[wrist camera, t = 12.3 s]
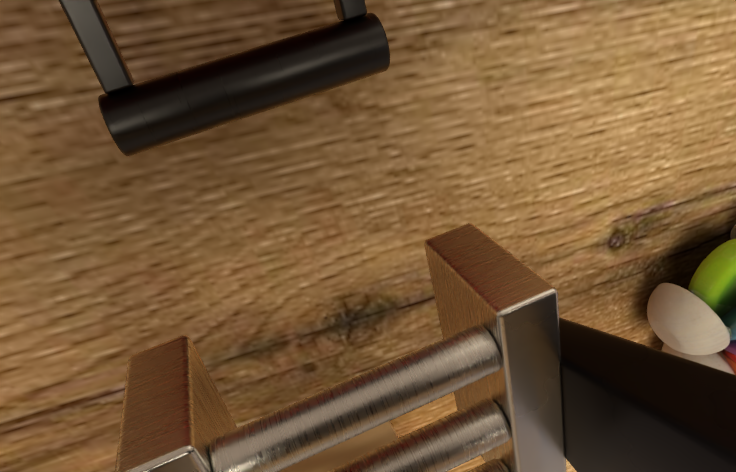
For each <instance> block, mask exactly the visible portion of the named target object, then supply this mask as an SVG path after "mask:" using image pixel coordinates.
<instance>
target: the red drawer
mask: <svg viewBox="0 0 736 472" xmlns="http://www.w3.org/2000/svg"><path fill="white" fill-rule="evenodd" d="M59 2H60V4H61V6H62V8H63V10H64V12H65V14H66V16H67V18H68V20H69V22H70V24H71V26H72V28H73V30H74V32H75V34H76V36H77V38H78V40H79V42H80V44H81V46H82V48H83V50H84V52H85V54H86V56H87V58H88V60H89V62H90V64H91V66H92V68H93V70H94V72H95V74H96V76H97V78H98V80H99V82H100V84H101V86H102V88H103V90H104V92H105V93H106V94H103V95H100V96H99V97H98V101H99V107H100V110H101V113H102V116H103V119H104V121H105V123H106V126H107V128H108V130H109V132H110V134H111V136H112V138H113V140H114V141H115V143H116V145H117V146H118V148H119V149H120V150H121V152H122V153H123V154H124V155H126V156H131V155H134V154H137V153H140V152H143V151H146V150H149V149H152V148H155V147H158V146H161V145H164V144H167V143H170V142H173V141H176V140H179V139H182V138H185V137H188V136H191V135H194V134H197V133H200V132H203V131H206V130H209V129H212V128H215V127H218V126H221V125H224V124H227V123H230V122H233V121H236V120H239V119H242V118H245V117H248V116H251V115H254V114H257V113H260V112H263V111H266V110H269V109H272V108H275V107H278V106H281V105H284V104H287V103H290V102H293V101H297V100H300V99H303V98H306V97H309V96H312V95H315V94H318V93H321V92H324V91H327V90H330V89H333V88H336V87H339V86H342V85H345V84H348V83H351V82H354V81H357V80H360V79H363V78H366V77H369V76H372V75H375V74H378V73H381V72H384V71H386V70H387V69H388V68H389V64H390V51H389V45H388V41H387V37H386V34H385V31H384V29H383V26H382V24H381V22H380V20H379V19H378V17H377V16H376V15H375V14H374V13H367V9H366V5H365V0H334V4H335V8H336V12H337V16H338V19H339V20H344V21H341V22H337V23H334V24H331V25H327V26H324V27H321V28H318V29H314V30H311V31H308V32H305V33H301V34H298V35H295V36H292V37H288V38H285V39H282V40H279V41H275V42H272V43H269V44H266V45H262V46H259V47H256V48H253V49H249V50H246V51H243V52H240V53H236V54H233V55H230V56H226V57H223V58H220V59H217V60H213V61H210V62H207V63H204V64H200V65H197V66H194V67H191V68H187V69H184V70H181V71H178V72H174V73H171V74H168V75H165V76H161V77H158V78H155V79H152V80H148V81H145V82H142V83H139V84H135V85H133V84H134V80H133V77H132V75H131V73H130V71H129V69H128V67H127V64H126V62H125V60H124V58H123V56H122V54H121V51H120V49H119V47H118V45H117V43H116V41H115V39H114V36H113V34H112V32H111V30H110V28H109V26H108V23H107V21H106V19H105V17H104V15H103V13H102V10H101V8H100V6H99V4H98V2H97V0H59Z"/></svg>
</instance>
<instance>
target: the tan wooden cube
mask: <svg viewBox="0 0 736 472" xmlns="http://www.w3.org/2000/svg"><path fill="white" fill-rule="evenodd" d="M397 439H399V438H398V436H397V434H396V433H395V431H394V429H393V427H392V425H391V423H390V421H388V422H386V423H384V424H382V425H379V426H377V427H375V428H373V429H371V430H368V431H366V432H364V433H362V434H360V435H357V436H355V437H353V438H351V439H349V440H347V441H344V442H342V443H340V444H338V445H336V446H333V447H331V448H329V449H327V450H325V451H322V452H320V453H318V454H316V455H314V456H312V457H309V458H307V459H305V460H303V461H301V462H298V463H296V464H294V465H292V466H290V467H288V468H285V469H283V470H281V471H279V472H328V471H330V470H332V469H334V468H336V467H339V466H341V465H343V464H345V463H347V462H349V461H351V460H354V459H356V458H358V457H360V456H362V455H364V454H366V453H369V452H371V451H373V450H375V449H377V448H379V447H382V446H384V445H386V444H388V443H390V442H392V441H394V440H397Z"/></svg>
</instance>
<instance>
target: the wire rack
mask: <svg viewBox="0 0 736 472" xmlns="http://www.w3.org/2000/svg"><path fill="white" fill-rule="evenodd" d="M424 244H425V250H426V255H427V260H428V265H429V270H430V275H431V280H432V285H433V290H434V295H435V300H436V305H437V310H438V315H439V320H440V325H441V330H442V335H443V339H441V340H439V341H437V342H434V343H432V344H430V345H428V346H425V347H423V348H421V349H418V350H416V351H414V352H411V353H409V354H407V355H404V356H402V357H400V358H398V359H395V360H393V361H391V362H388V363H386V364H384V365H381V366H379V367H377V368H375V369H372V370H370V371H368V372H365V373H363V374H361V375H358V376H356V377H354V378H351V379H349V380H347V381H345V382H342V383H340V384H338V385H335V386H333V387H331V388H328V389H326V390H324V391H321V392H319V393H317V394H315V395H312V396H310V397H308V398H305V399H303V400H301V401H298V402H296V403H294V404H292V405H289V406H287V407H285V408H282V409H280V410H278V411H275V412H273V413H271V414H268V415H266V416H264V417H262V418H259V419H257V420H255V421H252V422H250V423H248V424H245V425H243V426H241V427H238V428H237V426H236V424H235V423H234V421H233V419H232V417H231V415H230V413H229V411H228V409H227V407H226V405H225V404H224V402H223V400H222V398H221V396H220V394H219V392H218V390H217V388H216V386H215V385H214V383H213V381H212V379H211V377H210V375H209V373H208V371H207V369H206V367H205V366H204V364H203V362H202V360H201V358H200V356H199V354H198V352H197V350H196V349H195V347H194V345H193V343H192V341H191V339H190V338H189V337H188V336H187V335H183V336H180V337H177V338H175V339H172V340H170V341H167V342H165V343H162V344H159V345H157V346H154V347H152V348H149V349H147V350H144V351H141V352H139V353H136V354H134V355H132V356H131V357H130V358H129V359H128V367H127V376H126V384H125V392H124V401H123V409H122V418H121V426H120V435H119V443H118V452H117V460H116V469H115V472H279V471H281V470H283V469H285V468H288V467H290V466H292V465H294V464H296V463H298V462H301V461H303V460H305V459H307V458H309V457H312V456H314V455H316V454H318V453H320V452H322V451H325V450H327V449H329V448H331V447H333V446H336V445H338V444H340V443H342V442H344V441H347V440H349V439H351V438H353V437H355V436H357V435H360V434H362V433H364V432H366V431H368V430H371V429H373V428H375V427H377V426H379V425H382V424H384V423H386V422H388V421H390V420H392V419H395V418H397V417H399V416H401V415H403V414H406V413H408V412H410V411H412V410H414V409H417V408H419V407H421V406H423V405H425V404H427V403H430V402H432V401H434V400H436V399H438V398H441V397H443V396H445V395H447V394H449V393H451V392H454V395H455V400H456V405H457V410H458V411H457V412H454V413H452V414H450V415H448V416H446V417H444V418H442V419H439V420H437V421H435V422H433V423H431V424H429V425H427V426H424V427H422V428H420V429H418V430H416V431H414V432H412V433H409V434H407V435H405V436H403V437H401V438H399V439H397V440H394V441H392V442H390V443H388V444H386V445H384V446H382V447H379V448H377V449H375V450H373V451H371V452H369V453H366V454H364V455H362V456H360V457H358V458H356V459H354V460H351V461H349V462H347V463H345V464H343V465H341V466H339V467H336V468H334V469H332V470H330V471H328V472H447V471H449V470H451V469H453V468H455V467H457V466H459V465H461V464H463V463H465V462H467V461H469V460H471V459H473V458H475V457H477V456H479V455H481V456H482V458H483V459H484V461H485V462H486V463H484V464H482V465H480V466H478V467H476V468H474V469H472V470H470V471H468V472H566V457H565V439H564V418H563V398H562V377H561V352H560V331H559V311H558V293H557V290H556V289H555V287H554V286H552V285H551V284H550V283H548V282H547V281H546V280H544V279H543V278H542V277H541V276H539V275H538V274H537V273H535V272H534V271H533V270H532V269H530V268H529V267H528V266H526V265H525V264H524V263H523V262H521V261H520V260H519V259H517V258H516V257H515V256H513V255H512V254H511V253H510V252H508V251H507V250H506V249H504V248H503V247H502V246H501V245H499V244H498V243H497V242H495V241H494V240H493V239H491V238H490V237H489V236H488V235H486V234H485V233H484V232H482V231H481V230H480V229H479V228H477V227H476V226H475V225H473V224H471V223H470V224H466V225H463V226H460V227H458V228H455V229H453V230H450V231H448V232H445V233H442V234H440V235H437V236H435V237H432V238H430V239H427V240H426V241H425V243H424Z"/></svg>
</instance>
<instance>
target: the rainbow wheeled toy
mask: <svg viewBox="0 0 736 472" xmlns="http://www.w3.org/2000/svg"><path fill="white" fill-rule="evenodd" d="M730 238H731V240H729V241H727V242H725V243H723V244H721V245H720V246H718V247H717V248H716V249H715V250H713V251H712V252H711V253H710V254H709V255H708V256H707V257H706V258H705V259H704V260H703V262H702V263H701V264H700V266H699V267H698V268H697V270H696V272H695V273H694V275H693V277H692V279H691V281H690V284H689V287H688V290H686V289H684V288H682V287H680V286H678V285H674V284H671V283H661V284H659V285H658V286H657V287H656V288H655V289H654V291H653V292H652V294H651V296H650V298H649V301H648V305H647V316H648V321H649V324H650V326H651V328H652V330H653V331H654V332H655V334H656V335H657V336H658V337H659V338H660V339H661V340H662V341H663V342H664V344H663V347H662V351H664V352H667V353H670V354H673V355H676V356H679V357H682V358H685V359H688V360H691V361H694V362H697V363H700V364H704V365H707V366H710V367H713V368H716V369H719V370H722V371H725V372H728V373H731V374H734V375H736V225H735V226H734V227H733V228H732V230H731V234H730Z"/></svg>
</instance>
